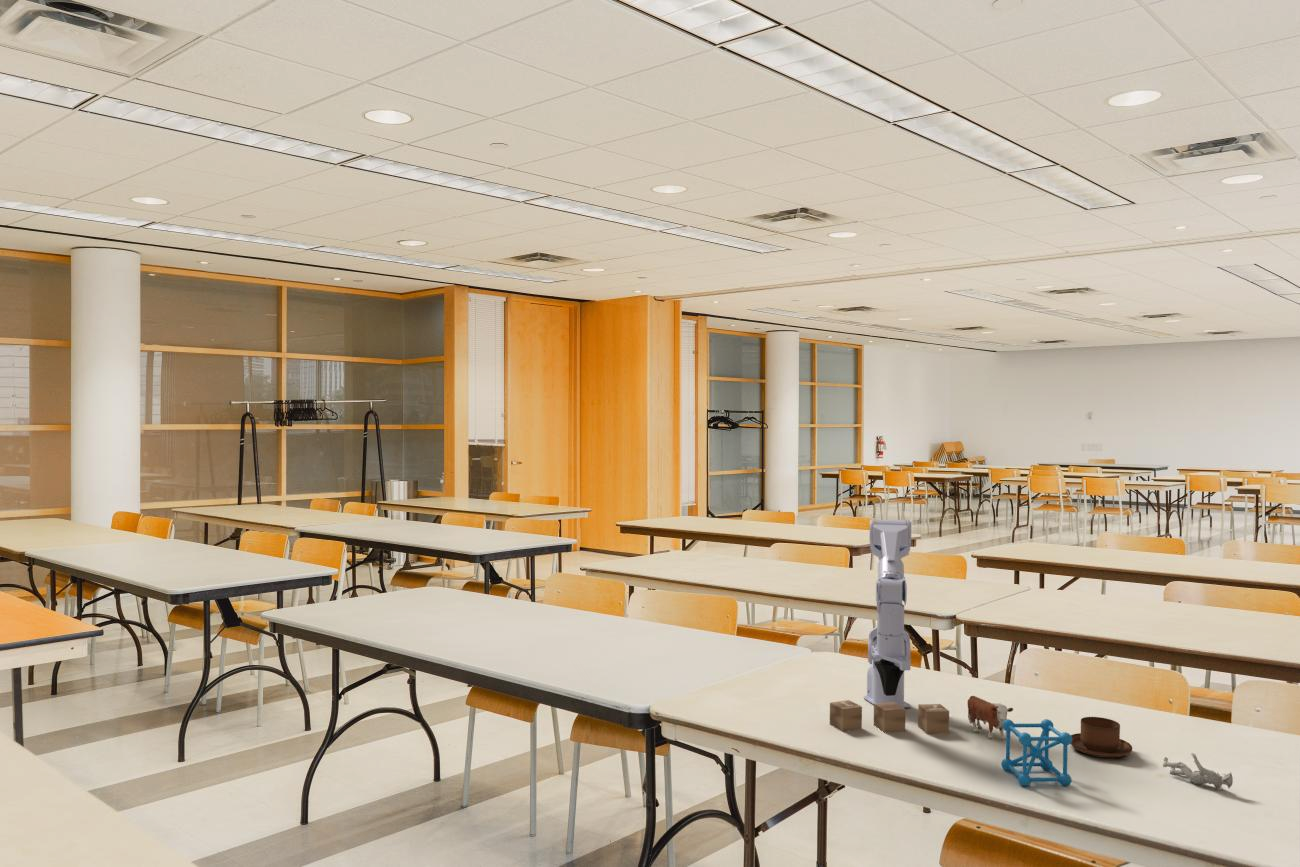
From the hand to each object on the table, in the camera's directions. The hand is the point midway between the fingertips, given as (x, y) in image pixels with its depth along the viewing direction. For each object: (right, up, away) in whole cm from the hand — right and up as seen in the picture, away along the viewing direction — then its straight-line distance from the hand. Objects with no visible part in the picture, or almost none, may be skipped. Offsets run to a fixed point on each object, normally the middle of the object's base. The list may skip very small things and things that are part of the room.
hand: (889, 694), depth 209 cm
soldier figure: (+51, -9, -30) cm, 59 cm away
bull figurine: (+21, -8, -4) cm, 22 cm away
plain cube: (0, -8, 0) cm, 8 cm away
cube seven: (+9, -8, -1) cm, 12 cm away
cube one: (-9, -7, +1) cm, 12 cm away
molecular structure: (+21, -8, -28) cm, 36 cm away
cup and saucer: (+40, -8, -13) cm, 43 cm away
